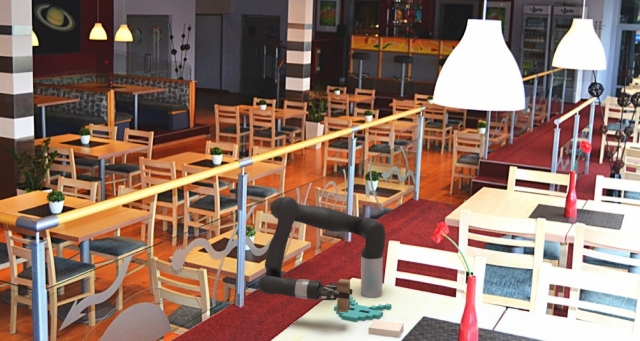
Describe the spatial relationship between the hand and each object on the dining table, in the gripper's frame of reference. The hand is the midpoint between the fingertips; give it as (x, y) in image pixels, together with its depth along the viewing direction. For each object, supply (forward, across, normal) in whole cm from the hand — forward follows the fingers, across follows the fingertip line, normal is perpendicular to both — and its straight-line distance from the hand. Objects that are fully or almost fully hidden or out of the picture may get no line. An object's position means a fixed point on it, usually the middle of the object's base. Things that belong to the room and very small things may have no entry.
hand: (350, 294), depth 319 cm
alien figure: (0, +16, +15) cm, 22 cm away
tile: (+8, 0, +13) cm, 15 cm away
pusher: (-3, 0, +7) cm, 8 cm away
